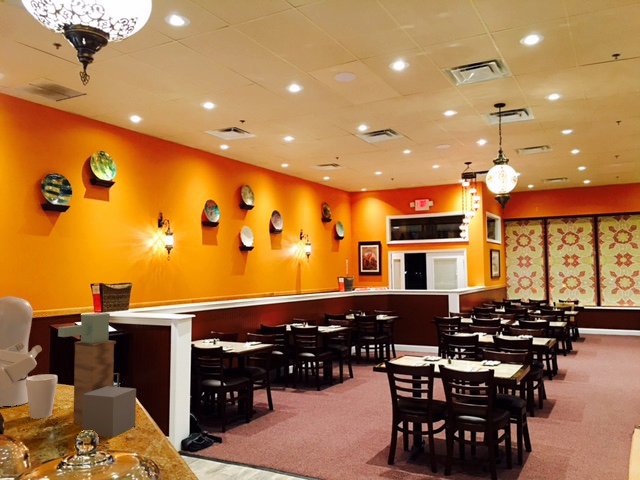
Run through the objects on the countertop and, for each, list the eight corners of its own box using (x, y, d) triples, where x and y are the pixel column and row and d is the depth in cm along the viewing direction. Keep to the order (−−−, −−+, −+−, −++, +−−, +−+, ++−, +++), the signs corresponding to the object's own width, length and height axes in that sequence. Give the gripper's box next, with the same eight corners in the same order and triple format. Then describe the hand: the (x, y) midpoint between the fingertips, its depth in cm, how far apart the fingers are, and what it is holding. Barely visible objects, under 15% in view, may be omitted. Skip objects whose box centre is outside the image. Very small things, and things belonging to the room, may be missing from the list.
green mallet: (66, 347, 162) (67, 318, 163) (54, 345, 166) (55, 317, 166) (112, 340, 177) (113, 313, 177) (101, 339, 180) (101, 312, 180)
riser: (81, 434, 161) (82, 394, 161) (106, 423, 171) (106, 386, 172) (112, 437, 158) (113, 397, 158) (135, 426, 168) (136, 388, 169)
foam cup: (49, 410, 186) (50, 373, 186) (61, 415, 180) (62, 377, 180) (20, 416, 178) (21, 377, 179) (31, 422, 172) (32, 381, 173)
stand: (91, 427, 167) (93, 344, 168) (72, 422, 172) (74, 342, 173) (114, 420, 175) (116, 341, 176) (95, 415, 180) (97, 338, 181)
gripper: (-26, 381, 153) (16, 351, 163) (12, 390, 142) (55, 357, 152) (-38, 363, 150) (6, 334, 161) (0, 371, 140) (45, 339, 150)
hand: (30, 345), depth 157 cm, fingers open, 8 cm apart
